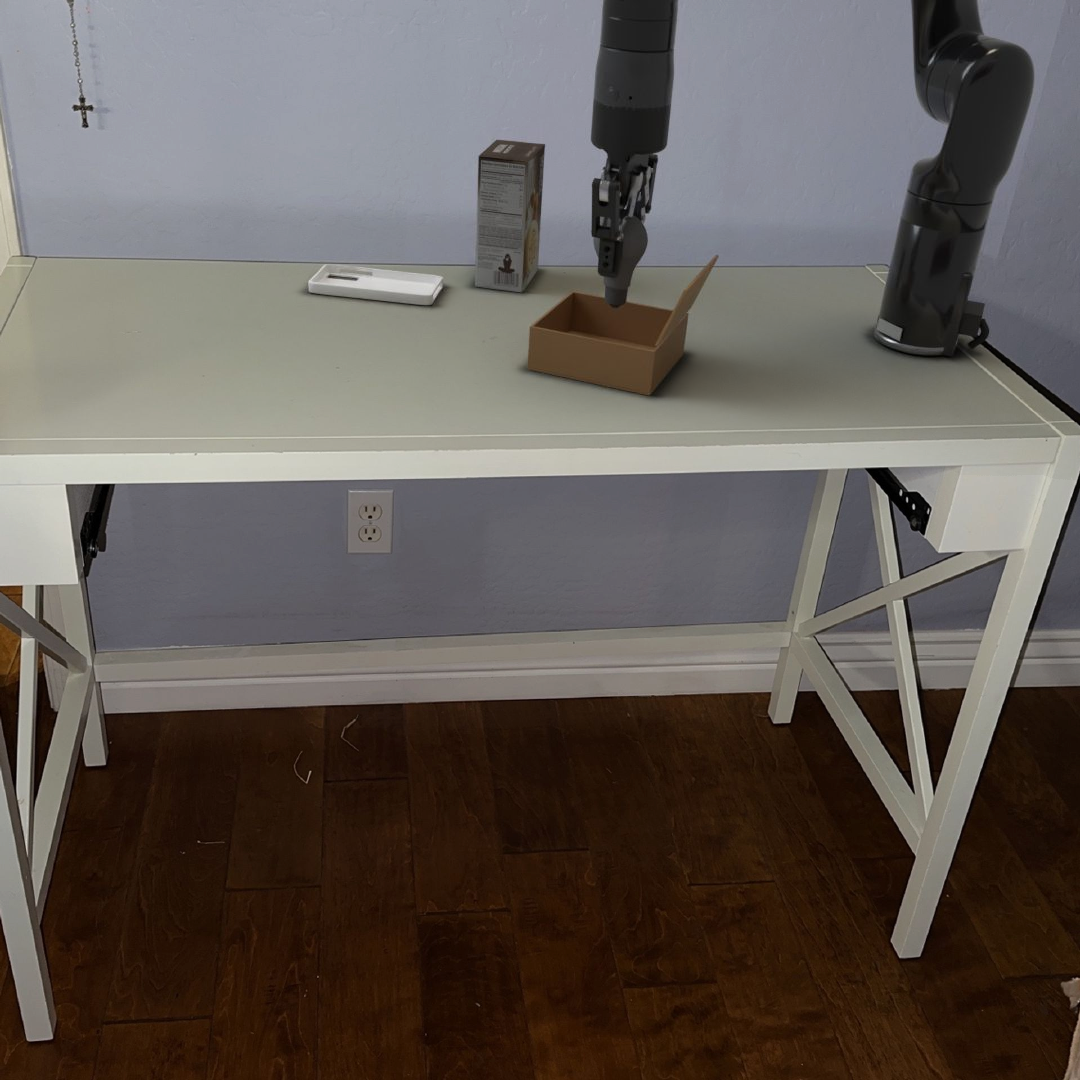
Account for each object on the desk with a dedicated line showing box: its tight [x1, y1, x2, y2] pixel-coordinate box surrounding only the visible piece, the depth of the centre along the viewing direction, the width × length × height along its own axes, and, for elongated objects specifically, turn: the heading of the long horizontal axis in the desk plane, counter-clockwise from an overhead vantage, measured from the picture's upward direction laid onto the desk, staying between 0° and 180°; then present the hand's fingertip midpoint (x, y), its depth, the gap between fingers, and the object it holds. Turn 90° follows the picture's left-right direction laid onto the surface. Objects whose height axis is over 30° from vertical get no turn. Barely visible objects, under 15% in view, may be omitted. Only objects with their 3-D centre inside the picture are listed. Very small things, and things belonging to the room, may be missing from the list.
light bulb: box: [592, 215, 649, 308], centre depth 120 cm, size 6×6×10 cm
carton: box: [526, 290, 689, 396], centre depth 125 cm, size 14×13×5 cm
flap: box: [655, 254, 720, 347], centre depth 119 cm, size 7×12×1 cm
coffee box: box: [474, 139, 546, 293], centre depth 143 cm, size 9×6×16 cm
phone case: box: [307, 263, 444, 306], centre depth 141 cm, size 7×1×15 cm
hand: (618, 266), depth 121 cm, fingers closed on light bulb, 5 cm apart
